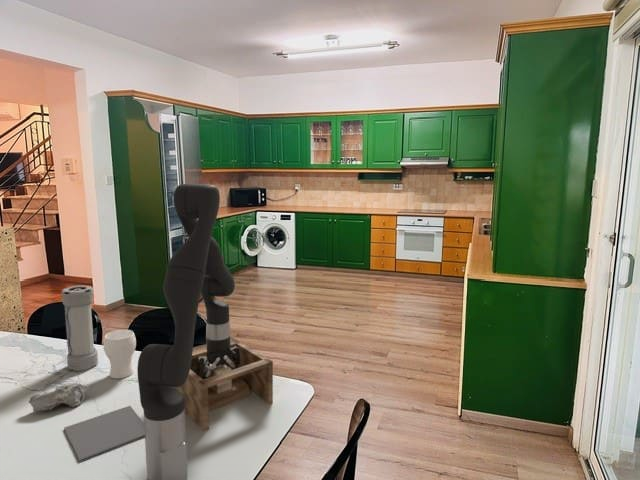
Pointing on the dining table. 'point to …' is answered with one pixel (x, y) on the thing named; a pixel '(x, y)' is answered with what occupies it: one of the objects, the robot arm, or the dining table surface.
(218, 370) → the block
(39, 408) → the rock
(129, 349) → the cup
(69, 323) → the canister
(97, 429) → the mat
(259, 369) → the access box
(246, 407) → the dining table surface
